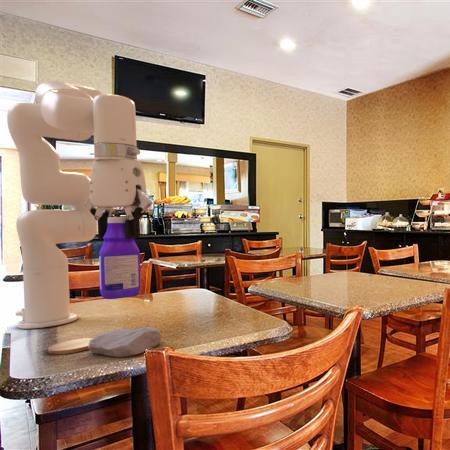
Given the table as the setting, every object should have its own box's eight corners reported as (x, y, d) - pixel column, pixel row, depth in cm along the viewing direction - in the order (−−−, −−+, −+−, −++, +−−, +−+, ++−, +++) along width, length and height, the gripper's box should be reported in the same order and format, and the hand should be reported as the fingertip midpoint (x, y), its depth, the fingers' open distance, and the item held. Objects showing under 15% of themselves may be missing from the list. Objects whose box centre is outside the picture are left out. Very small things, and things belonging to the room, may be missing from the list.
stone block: (134, 365, 84) (166, 341, 94) (129, 344, 83) (161, 321, 92) (82, 366, 85) (118, 342, 95) (76, 345, 84) (113, 323, 94)
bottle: (137, 293, 93) (134, 216, 93) (143, 296, 89) (141, 216, 88) (98, 298, 88) (95, 217, 87) (103, 301, 84) (99, 217, 83)
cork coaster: (36, 353, 87) (36, 350, 87) (75, 340, 96) (75, 337, 96) (73, 354, 86) (73, 351, 86) (109, 341, 95) (109, 338, 95)
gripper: (165, 155, 90) (167, 237, 91) (95, 158, 92) (98, 238, 93) (139, 150, 83) (142, 239, 83) (64, 153, 85) (67, 240, 85)
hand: (119, 237), depth 88 cm, fingers closed on bottle, 5 cm apart
